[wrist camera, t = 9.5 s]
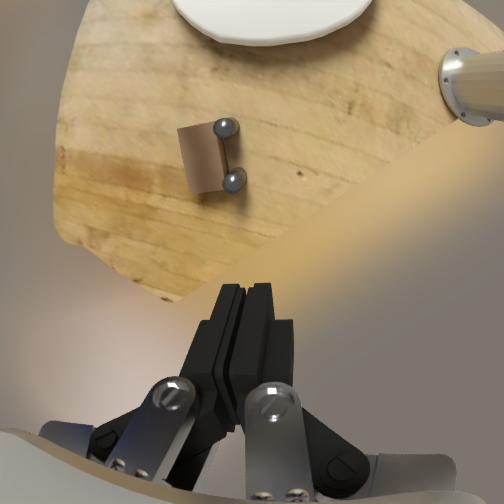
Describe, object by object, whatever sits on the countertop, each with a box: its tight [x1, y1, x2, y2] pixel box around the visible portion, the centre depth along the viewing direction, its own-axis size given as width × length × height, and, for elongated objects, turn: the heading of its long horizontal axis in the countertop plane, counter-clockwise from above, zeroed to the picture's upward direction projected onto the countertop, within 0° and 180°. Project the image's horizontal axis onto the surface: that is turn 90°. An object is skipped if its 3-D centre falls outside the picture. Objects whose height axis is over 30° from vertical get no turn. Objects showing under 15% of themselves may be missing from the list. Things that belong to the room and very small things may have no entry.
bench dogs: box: [213, 118, 247, 194], centre depth 35 cm, size 2×9×5 cm, turn 8°
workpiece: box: [177, 121, 229, 195], centre depth 37 cm, size 5×9×4 cm, turn 8°
